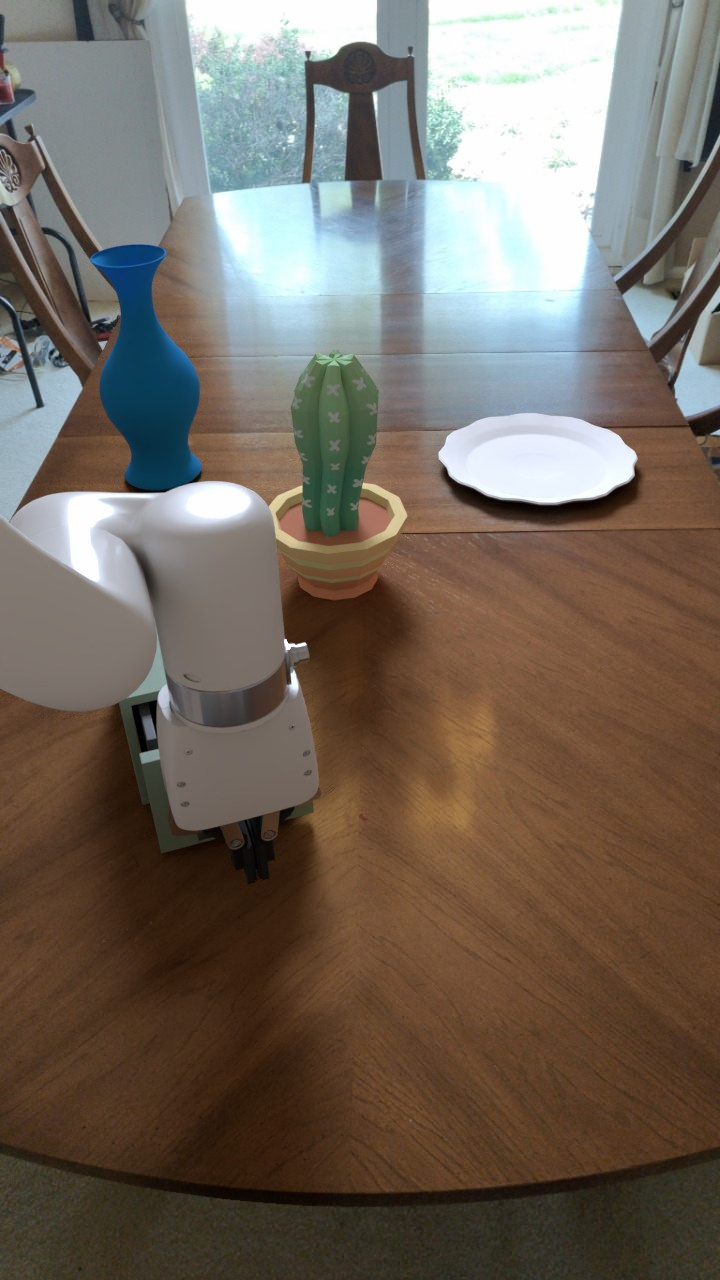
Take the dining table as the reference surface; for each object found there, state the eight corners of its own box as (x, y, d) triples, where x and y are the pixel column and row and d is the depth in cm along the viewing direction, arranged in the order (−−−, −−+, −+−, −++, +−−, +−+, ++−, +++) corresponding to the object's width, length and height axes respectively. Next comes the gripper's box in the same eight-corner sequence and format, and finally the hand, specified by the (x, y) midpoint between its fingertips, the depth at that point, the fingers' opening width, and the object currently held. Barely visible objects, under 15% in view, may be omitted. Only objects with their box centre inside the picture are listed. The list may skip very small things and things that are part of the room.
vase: (228, 462, 131) (202, 245, 114) (176, 505, 122) (140, 277, 105) (153, 446, 135) (117, 235, 118) (97, 487, 126) (50, 265, 109)
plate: (418, 501, 122) (419, 487, 120) (462, 417, 140) (463, 404, 139) (625, 528, 115) (627, 514, 114) (642, 436, 134) (644, 423, 133)
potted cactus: (433, 564, 110) (438, 348, 95) (355, 634, 100) (347, 405, 85) (322, 527, 117) (310, 320, 102) (239, 589, 107) (213, 369, 92)
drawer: (330, 852, 77) (324, 762, 71) (171, 896, 74) (151, 806, 68) (268, 702, 91) (259, 616, 85) (133, 734, 88) (114, 648, 82)
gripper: (324, 618, 66) (335, 806, 77) (99, 666, 62) (145, 856, 73) (360, 686, 60) (366, 878, 71) (114, 743, 57) (161, 937, 68)
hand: (254, 867), depth 72 cm, fingers closed
